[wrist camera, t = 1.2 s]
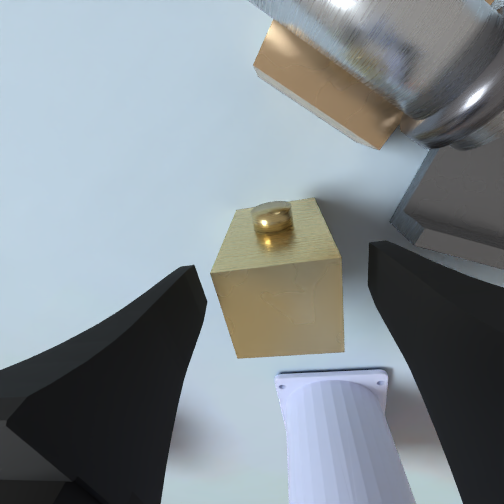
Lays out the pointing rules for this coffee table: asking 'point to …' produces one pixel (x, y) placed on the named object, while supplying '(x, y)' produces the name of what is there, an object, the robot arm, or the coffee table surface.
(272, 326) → the block
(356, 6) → the shaft
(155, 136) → the coffee table surface
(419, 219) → the cradle
